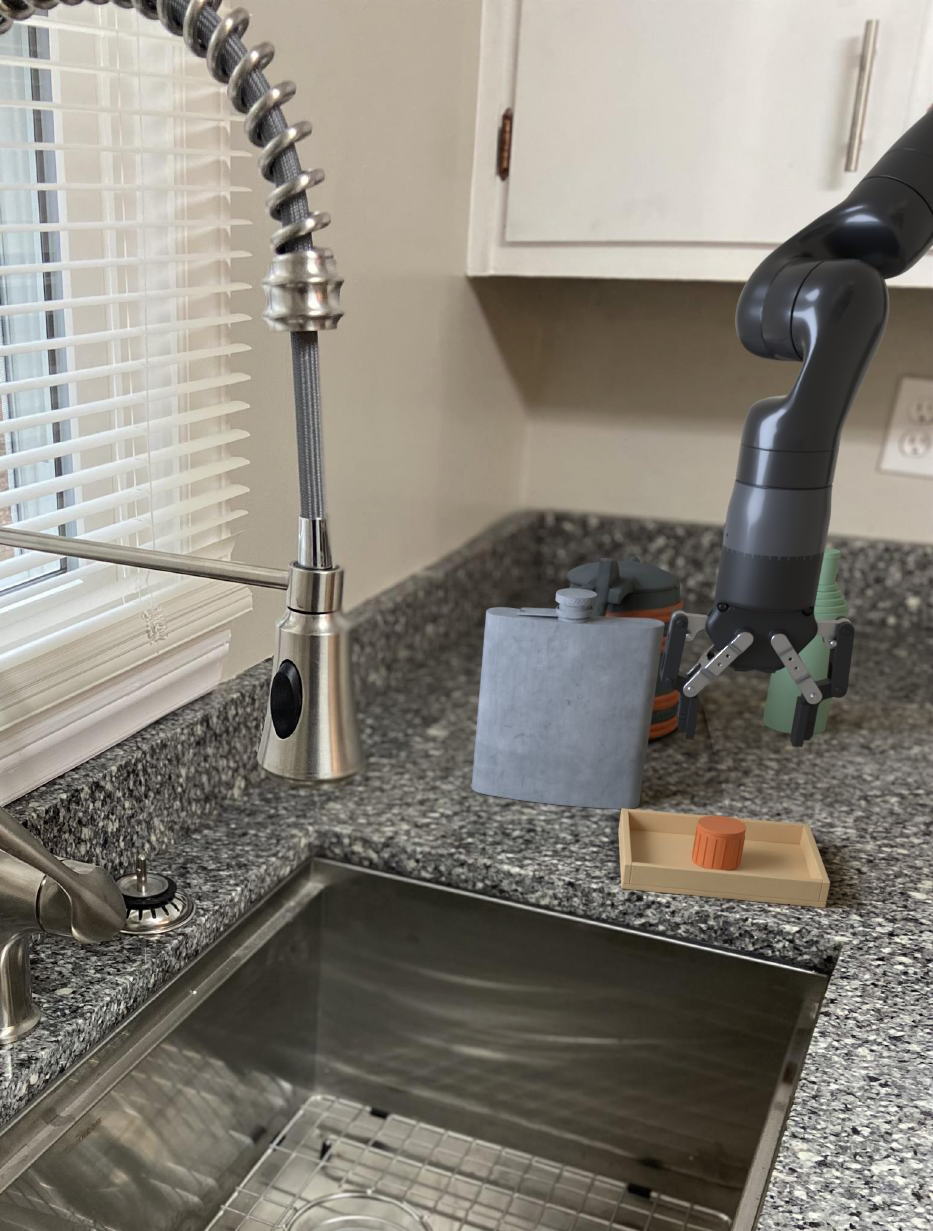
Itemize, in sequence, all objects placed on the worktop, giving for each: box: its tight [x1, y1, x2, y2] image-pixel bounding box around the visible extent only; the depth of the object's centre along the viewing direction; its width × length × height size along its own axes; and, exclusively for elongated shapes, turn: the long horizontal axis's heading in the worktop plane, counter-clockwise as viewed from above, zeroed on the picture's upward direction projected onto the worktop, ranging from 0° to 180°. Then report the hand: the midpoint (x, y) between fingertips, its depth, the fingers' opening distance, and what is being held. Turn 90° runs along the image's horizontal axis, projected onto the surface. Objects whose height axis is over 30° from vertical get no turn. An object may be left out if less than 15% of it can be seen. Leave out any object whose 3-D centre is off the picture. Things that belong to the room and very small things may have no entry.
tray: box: [617, 808, 831, 909], centre depth 121 cm, size 16×12×2 cm
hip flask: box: [471, 587, 665, 810], centre depth 131 cm, size 16×4×20 cm, turn 75°
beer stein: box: [566, 555, 684, 742], centre depth 148 cm, size 19×15×20 cm
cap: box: [692, 814, 746, 871], centre depth 121 cm, size 4×4×4 cm
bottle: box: [762, 547, 850, 735], centre depth 148 cm, size 6×6×20 cm
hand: (742, 740), depth 116 cm, fingers open, 8 cm apart
